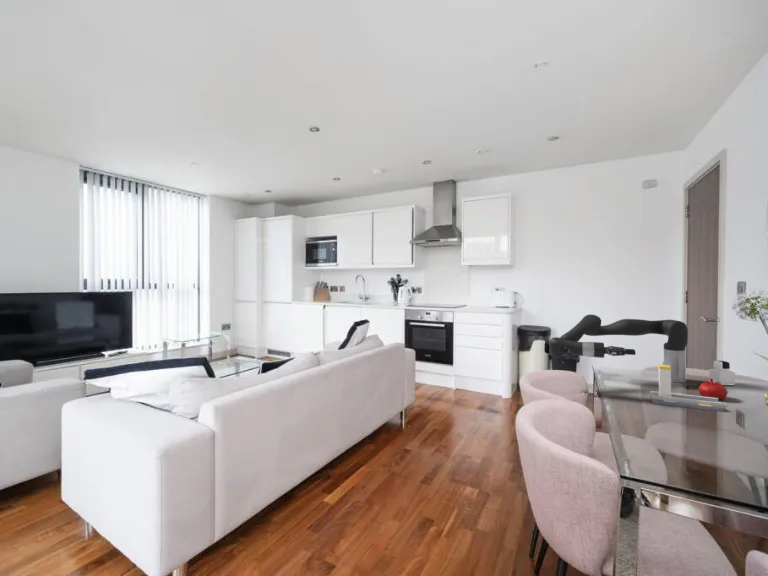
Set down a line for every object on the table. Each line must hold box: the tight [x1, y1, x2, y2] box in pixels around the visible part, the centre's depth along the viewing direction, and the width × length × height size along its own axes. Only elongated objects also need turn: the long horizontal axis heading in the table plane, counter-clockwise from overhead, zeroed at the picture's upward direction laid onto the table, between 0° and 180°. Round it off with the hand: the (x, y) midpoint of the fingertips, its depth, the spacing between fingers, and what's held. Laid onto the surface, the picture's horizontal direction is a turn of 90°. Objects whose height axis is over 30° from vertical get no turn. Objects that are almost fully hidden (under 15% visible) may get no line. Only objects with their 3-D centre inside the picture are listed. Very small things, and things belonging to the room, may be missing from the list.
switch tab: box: [657, 364, 672, 397], centre depth 163 cm, size 4×5×15 cm
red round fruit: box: [697, 378, 728, 401], centre depth 165 cm, size 10×10×9 cm
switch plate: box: [649, 390, 725, 413], centre depth 159 cm, size 24×11×3 cm, turn 59°
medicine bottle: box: [708, 360, 736, 385], centre depth 185 cm, size 7×7×12 cm
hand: (635, 352), depth 168 cm, fingers closed
